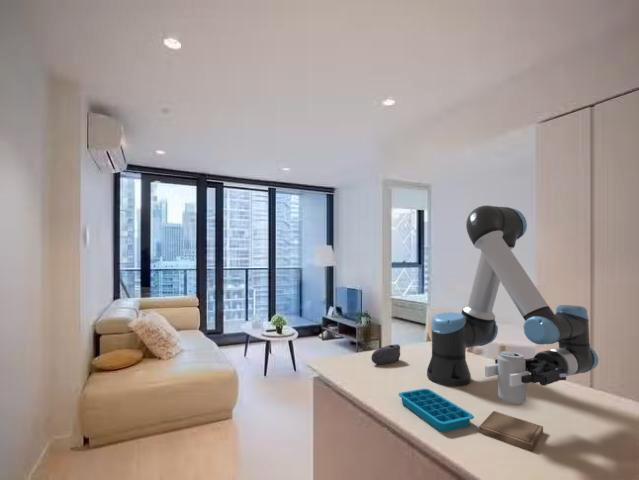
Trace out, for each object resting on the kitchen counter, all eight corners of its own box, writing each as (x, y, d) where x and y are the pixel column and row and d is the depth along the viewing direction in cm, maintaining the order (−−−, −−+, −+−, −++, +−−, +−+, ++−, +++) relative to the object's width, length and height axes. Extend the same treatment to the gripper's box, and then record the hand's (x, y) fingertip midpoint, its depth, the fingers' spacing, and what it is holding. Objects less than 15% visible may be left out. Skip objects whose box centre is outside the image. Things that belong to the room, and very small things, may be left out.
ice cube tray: (427, 397, 110) (427, 387, 110) (476, 428, 91) (476, 416, 92) (396, 402, 106) (396, 393, 106) (441, 436, 87) (441, 424, 87)
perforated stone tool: (375, 367, 137) (375, 350, 137) (367, 363, 142) (367, 346, 142) (404, 362, 144) (404, 345, 144) (396, 358, 148) (396, 342, 148)
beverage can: (530, 406, 85) (529, 358, 85) (502, 404, 86) (501, 356, 87) (520, 396, 91) (520, 351, 92) (495, 394, 92) (494, 349, 93)
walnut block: (479, 432, 89) (479, 425, 89) (493, 416, 97) (493, 410, 97) (532, 451, 80) (532, 444, 80) (543, 432, 89) (543, 425, 89)
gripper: (593, 389, 88) (536, 406, 78) (522, 366, 105) (467, 378, 95) (593, 360, 88) (535, 373, 78) (521, 342, 105) (467, 351, 96)
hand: (498, 375), depth 87 cm, fingers closed on beverage can, 6 cm apart
